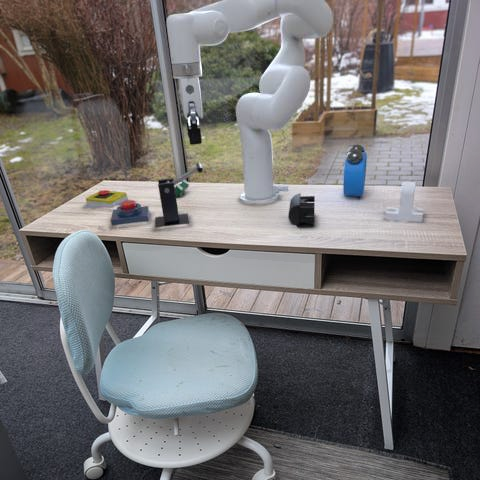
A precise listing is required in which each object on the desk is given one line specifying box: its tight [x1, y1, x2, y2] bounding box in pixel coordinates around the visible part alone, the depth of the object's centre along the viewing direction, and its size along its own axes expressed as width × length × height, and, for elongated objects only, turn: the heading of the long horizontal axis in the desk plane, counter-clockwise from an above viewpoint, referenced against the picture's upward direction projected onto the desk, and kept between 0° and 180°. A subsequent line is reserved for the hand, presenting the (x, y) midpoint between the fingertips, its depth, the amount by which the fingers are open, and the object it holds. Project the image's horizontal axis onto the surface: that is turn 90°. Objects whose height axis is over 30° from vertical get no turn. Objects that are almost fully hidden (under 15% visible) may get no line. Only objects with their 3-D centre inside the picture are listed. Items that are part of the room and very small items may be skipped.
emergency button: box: [83, 189, 129, 210], centre depth 160 cm, size 9×4×15 cm
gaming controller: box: [175, 179, 190, 197], centre depth 164 cm, size 9×4×6 cm
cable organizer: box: [384, 181, 425, 223], centre depth 131 cm, size 5×10×10 cm, turn 70°
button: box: [121, 199, 137, 210], centre depth 144 cm, size 4×4×2 cm
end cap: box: [288, 192, 316, 229], centre depth 135 cm, size 10×7×7 cm
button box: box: [110, 202, 150, 226], centre depth 146 cm, size 11×9×4 cm
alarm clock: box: [342, 143, 368, 200], centre depth 148 cm, size 13×6×15 cm, turn 164°
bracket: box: [154, 177, 190, 228], centre depth 139 cm, size 10×8×13 cm
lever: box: [165, 162, 204, 186], centre depth 136 cm, size 13×6×2 cm, turn 98°
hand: (194, 140), depth 131 cm, fingers open, 9 cm apart
